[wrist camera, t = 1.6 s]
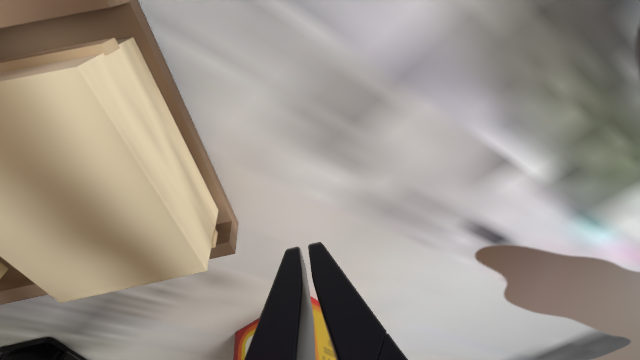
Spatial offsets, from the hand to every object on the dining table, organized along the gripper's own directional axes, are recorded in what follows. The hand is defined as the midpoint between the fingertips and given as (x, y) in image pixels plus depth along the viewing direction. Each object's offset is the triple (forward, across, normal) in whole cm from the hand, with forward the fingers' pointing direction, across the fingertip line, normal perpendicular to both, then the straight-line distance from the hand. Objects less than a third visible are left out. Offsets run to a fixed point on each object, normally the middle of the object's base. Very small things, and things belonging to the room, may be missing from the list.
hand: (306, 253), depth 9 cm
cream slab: (+10, +10, 0) cm, 14 cm away
